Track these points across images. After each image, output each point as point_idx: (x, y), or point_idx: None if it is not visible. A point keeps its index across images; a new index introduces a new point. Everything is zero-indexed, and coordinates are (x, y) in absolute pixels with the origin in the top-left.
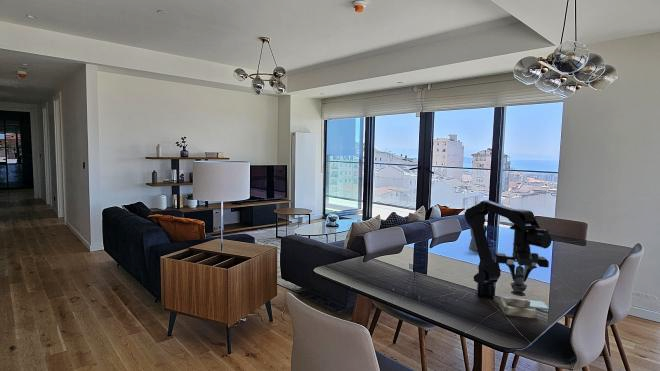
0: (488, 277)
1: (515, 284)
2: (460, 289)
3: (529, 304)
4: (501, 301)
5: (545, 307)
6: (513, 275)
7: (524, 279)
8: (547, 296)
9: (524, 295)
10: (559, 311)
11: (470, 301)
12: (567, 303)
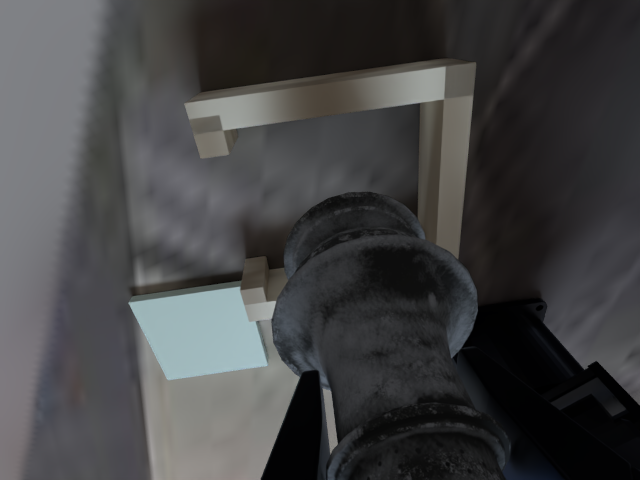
0: (624, 419)
1: (436, 291)
2: (599, 363)
3: (246, 275)
4: (462, 200)
5: (148, 306)
6: (552, 422)
7: (318, 402)
8: (155, 454)
9: (297, 224)
10: (67, 299)
11: (619, 214)
12: (49, 419)
